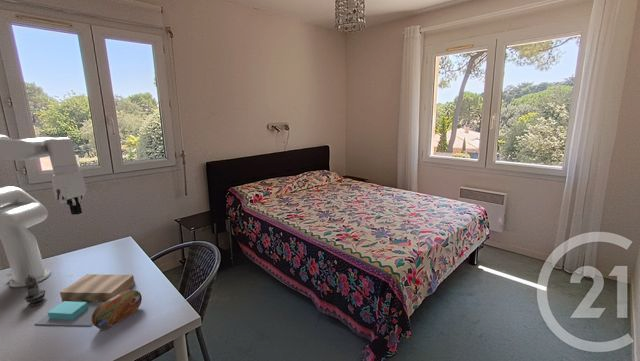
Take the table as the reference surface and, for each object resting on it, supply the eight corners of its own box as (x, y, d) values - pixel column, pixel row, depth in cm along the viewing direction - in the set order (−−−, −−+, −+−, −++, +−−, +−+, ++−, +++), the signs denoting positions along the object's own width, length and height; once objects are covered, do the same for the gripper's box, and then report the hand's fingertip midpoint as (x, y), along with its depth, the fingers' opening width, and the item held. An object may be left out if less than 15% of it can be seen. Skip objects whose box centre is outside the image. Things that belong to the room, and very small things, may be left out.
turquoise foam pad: (64, 301, 104) (65, 306, 105) (47, 312, 98) (49, 318, 99) (87, 302, 103) (88, 307, 104) (71, 313, 97) (73, 319, 98)
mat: (34, 324, 97) (34, 323, 96) (64, 303, 107) (64, 302, 107) (91, 326, 95) (90, 325, 95) (115, 304, 106) (115, 303, 106)
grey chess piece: (47, 295, 112) (39, 268, 109) (48, 302, 108) (39, 274, 105) (26, 303, 108) (17, 274, 105) (26, 310, 104) (16, 281, 101)
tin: (98, 335, 91) (92, 312, 89) (92, 332, 93) (87, 309, 91) (144, 306, 105) (140, 286, 102) (138, 304, 106) (134, 283, 104)
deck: (62, 301, 108) (59, 292, 107) (89, 282, 120) (86, 274, 119) (112, 302, 107) (110, 293, 106) (134, 283, 119) (133, 274, 118)
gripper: (74, 165, 120) (83, 207, 124) (37, 173, 105) (50, 220, 110) (91, 165, 119) (100, 207, 124) (57, 173, 105) (68, 220, 109)
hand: (76, 213), depth 117 cm, fingers closed
